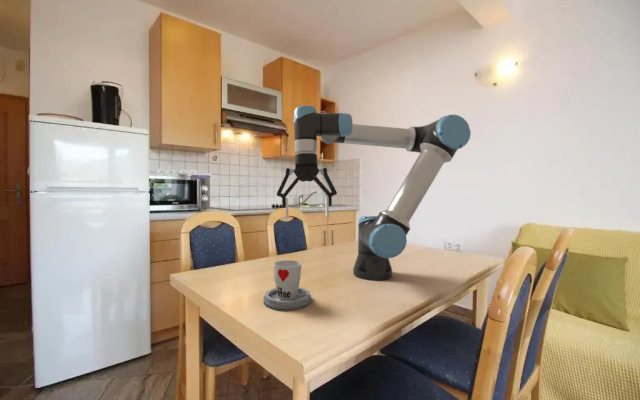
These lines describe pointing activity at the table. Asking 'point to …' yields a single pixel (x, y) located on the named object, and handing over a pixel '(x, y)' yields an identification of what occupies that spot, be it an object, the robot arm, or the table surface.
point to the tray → (285, 305)
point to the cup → (287, 278)
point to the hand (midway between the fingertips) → (307, 216)
